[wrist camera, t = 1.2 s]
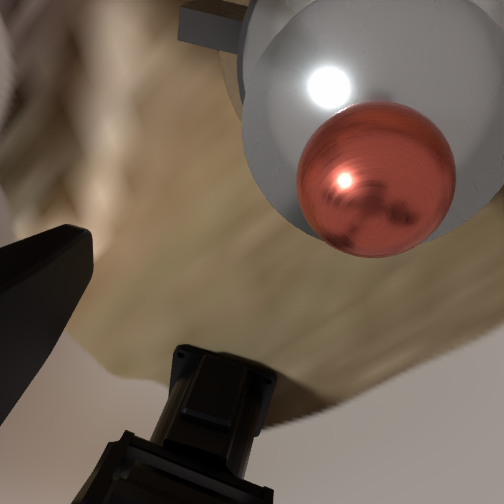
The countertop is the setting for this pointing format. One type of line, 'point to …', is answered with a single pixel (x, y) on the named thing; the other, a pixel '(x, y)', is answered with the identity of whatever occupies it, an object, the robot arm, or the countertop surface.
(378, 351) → the countertop surface
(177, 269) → the countertop surface
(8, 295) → the robot arm
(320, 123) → the plunger
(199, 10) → the press pot
